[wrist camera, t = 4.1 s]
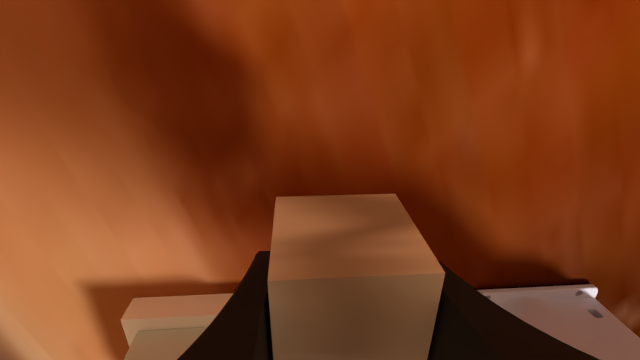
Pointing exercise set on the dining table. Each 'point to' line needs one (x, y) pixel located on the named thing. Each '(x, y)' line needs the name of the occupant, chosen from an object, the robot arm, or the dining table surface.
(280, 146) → the dining table surface
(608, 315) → the robot arm
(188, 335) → the top slab
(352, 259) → the birch block
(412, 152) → the dining table surface
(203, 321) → the bottom slab
